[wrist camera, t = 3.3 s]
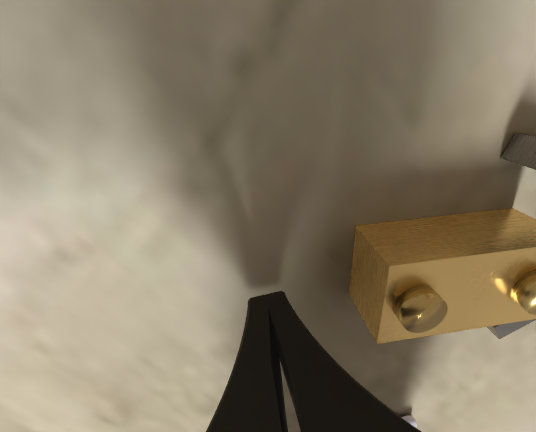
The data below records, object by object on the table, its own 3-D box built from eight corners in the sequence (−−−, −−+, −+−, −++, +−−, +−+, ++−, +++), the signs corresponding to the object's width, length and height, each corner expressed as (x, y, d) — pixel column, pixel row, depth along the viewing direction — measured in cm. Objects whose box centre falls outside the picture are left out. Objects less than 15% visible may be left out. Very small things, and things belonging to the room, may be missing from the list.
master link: (347, 291, 14) (384, 357, 11) (353, 223, 13) (399, 277, 9) (485, 272, 15) (558, 329, 12) (507, 205, 13) (599, 250, 10)
